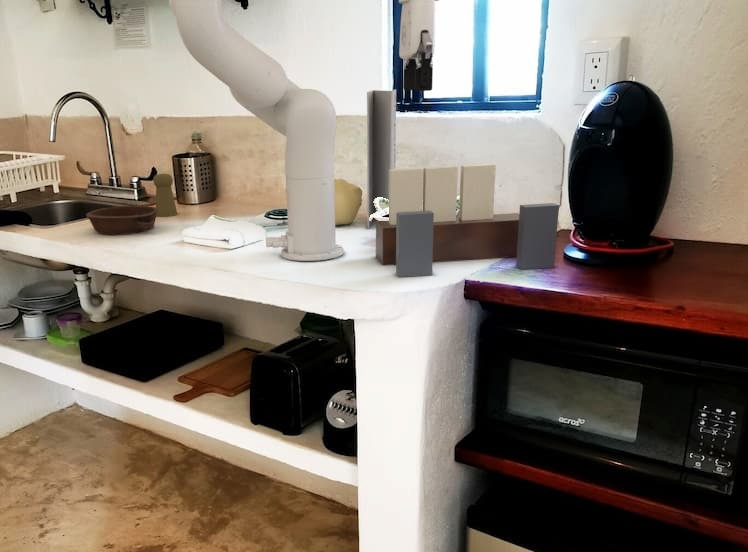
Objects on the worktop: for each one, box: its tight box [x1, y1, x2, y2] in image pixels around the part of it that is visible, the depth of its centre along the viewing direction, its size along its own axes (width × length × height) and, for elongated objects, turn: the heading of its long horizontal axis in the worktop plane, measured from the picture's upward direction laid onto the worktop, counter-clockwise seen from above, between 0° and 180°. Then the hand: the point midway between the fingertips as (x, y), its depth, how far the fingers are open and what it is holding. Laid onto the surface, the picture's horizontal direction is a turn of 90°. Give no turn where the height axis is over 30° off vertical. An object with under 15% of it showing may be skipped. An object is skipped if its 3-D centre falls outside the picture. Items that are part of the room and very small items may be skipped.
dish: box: [85, 205, 158, 235], centre depth 192 cm, size 18×22×5 cm
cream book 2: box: [422, 165, 459, 222], centre depth 145 cm, size 6×2×10 cm, turn 94°
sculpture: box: [334, 178, 363, 226], centre depth 185 cm, size 12×12×11 cm
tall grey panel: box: [366, 88, 397, 230], centre depth 180 cm, size 14×6×30 cm, turn 168°
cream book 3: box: [458, 163, 497, 221], centre depth 145 cm, size 6×2×10 cm, turn 94°
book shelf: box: [375, 212, 519, 266], centre depth 148 cm, size 28×7×7 cm, turn 94°
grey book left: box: [395, 210, 434, 278], centre depth 136 cm, size 6×3×11 cm, turn 94°
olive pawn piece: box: [152, 173, 178, 218], centre depth 211 cm, size 6×6×11 cm
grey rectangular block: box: [515, 202, 560, 270], centre depth 136 cm, size 6×3×11 cm, turn 94°
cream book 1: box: [389, 167, 423, 225], centre depth 144 cm, size 6×2×10 cm, turn 94°
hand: (417, 90), depth 150 cm, fingers open, 9 cm apart
